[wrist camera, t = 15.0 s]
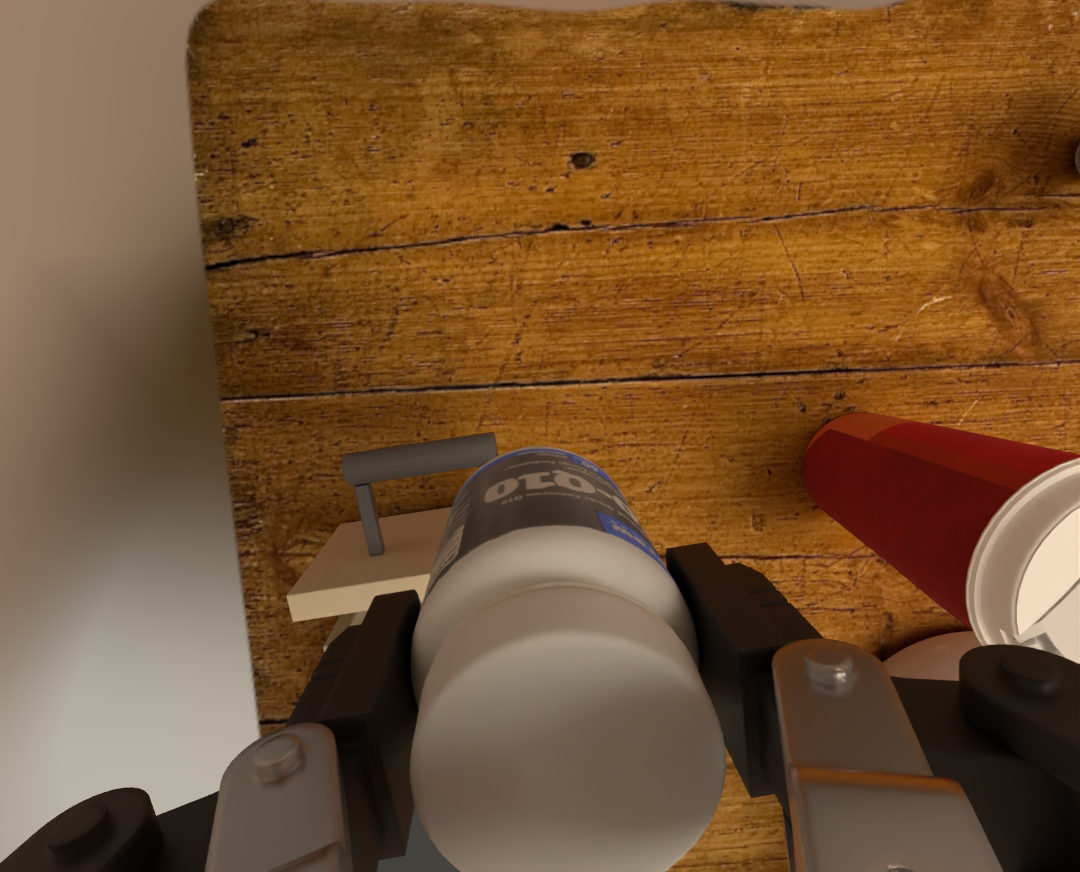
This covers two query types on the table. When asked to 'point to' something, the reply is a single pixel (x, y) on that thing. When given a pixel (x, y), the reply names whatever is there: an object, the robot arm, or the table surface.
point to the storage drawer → (382, 534)
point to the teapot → (932, 657)
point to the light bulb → (1077, 158)
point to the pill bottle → (558, 682)
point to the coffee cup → (961, 521)
